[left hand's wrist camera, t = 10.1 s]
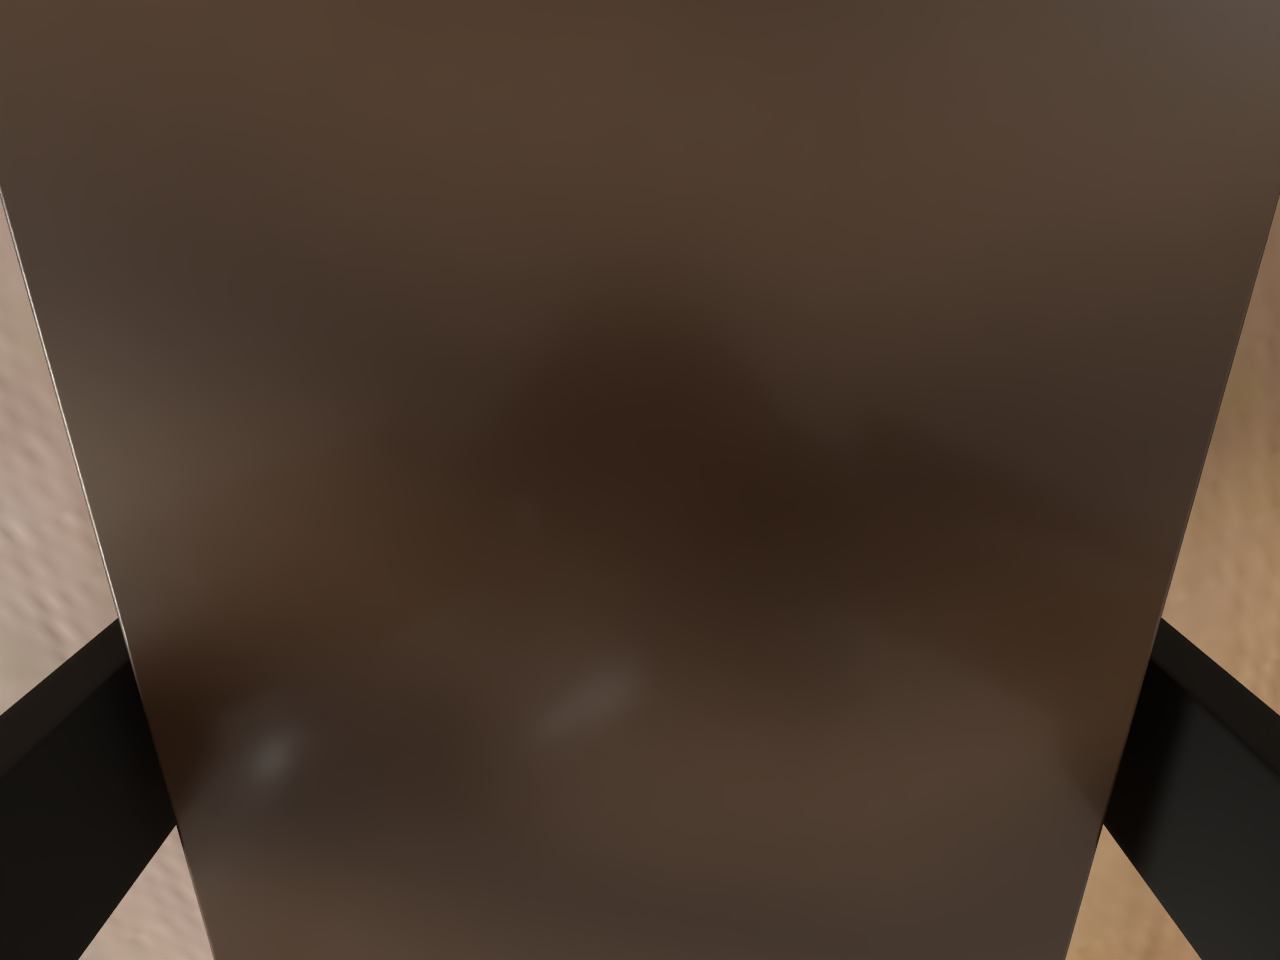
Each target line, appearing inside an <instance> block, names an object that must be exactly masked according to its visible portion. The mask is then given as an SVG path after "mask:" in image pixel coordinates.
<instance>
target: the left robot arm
mask: <svg viewBox="0 0 1280 960" xmlns="http://www.w3.org/2000/svg"><path fill="white" fill-rule="evenodd" d="M1103 824H1104V826H1105V827H1106V828H1107V830H1108V831H1109V832H1110V834H1111V835H1112V837H1113V838H1114V839H1115V841H1116V842H1117V843H1118V845H1119V846H1120V848H1121V849H1122V850H1123V852H1124V853H1125V854H1126V856H1127V857H1128V859H1129V860H1130V861H1131V863H1132V864H1133V866H1134V867H1135V868H1136V870H1137V871H1138V872H1139V874H1140V875H1141V877H1142V878H1143V879H1144V881H1145V882H1146V883H1147V885H1148V886H1149V888H1150V889H1151V890H1152V892H1153V893H1154V895H1155V896H1156V897H1157V899H1158V900H1159V901H1160V903H1161V904H1162V906H1163V907H1164V908H1165V910H1166V911H1167V912H1168V914H1169V915H1170V917H1171V918H1172V919H1173V921H1174V922H1175V923H1176V925H1177V926H1178V928H1179V929H1180V930H1181V932H1182V933H1183V935H1184V936H1185V937H1186V939H1187V940H1188V941H1189V943H1190V944H1191V946H1192V947H1193V948H1194V950H1195V951H1196V952H1197V954H1198V955H1199V957H1200V958H1201V959H1202V960H1280V716H1279V715H1278V714H1277V713H1276V712H1275V711H1273V710H1272V709H1271V708H1270V707H1269V706H1267V705H1266V704H1265V703H1264V702H1263V701H1261V700H1260V699H1259V698H1258V697H1256V696H1255V695H1254V694H1253V693H1252V692H1250V691H1249V690H1248V689H1247V688H1246V687H1244V686H1243V685H1242V684H1241V683H1240V682H1238V681H1237V680H1236V679H1235V678H1234V677H1232V676H1231V675H1230V674H1229V673H1228V672H1226V671H1225V670H1224V669H1223V668H1222V667H1220V666H1219V665H1218V664H1217V663H1216V662H1214V661H1213V660H1212V659H1211V658H1210V657H1208V656H1207V655H1206V654H1205V653H1204V652H1202V651H1201V650H1200V649H1199V648H1197V647H1196V646H1195V645H1194V644H1193V643H1191V642H1190V641H1189V640H1188V639H1187V638H1185V637H1184V636H1183V635H1182V634H1181V633H1179V632H1178V631H1177V630H1176V629H1175V628H1173V627H1172V626H1171V625H1170V624H1169V623H1167V622H1166V621H1165V620H1164V619H1163V618H1161V620H1160V623H1159V627H1158V630H1157V634H1156V637H1155V641H1154V644H1153V648H1152V652H1151V655H1150V659H1149V662H1148V666H1147V669H1146V673H1145V677H1144V680H1143V684H1142V687H1141V691H1140V694H1139V698H1138V702H1137V705H1136V709H1135V712H1134V716H1133V719H1132V723H1131V726H1130V730H1129V734H1128V737H1127V741H1126V744H1125V748H1124V751H1123V755H1122V759H1121V762H1120V766H1119V769H1118V773H1117V776H1116V780H1115V784H1114V787H1113V791H1112V794H1111V798H1110V801H1109V805H1108V808H1107V812H1106V816H1105V819H1104V823H1103ZM175 826H176V822H175V818H174V815H173V811H172V808H171V804H170V801H169V797H168V793H167V790H166V786H165V783H164V779H163V776H162V772H161V768H160V765H159V761H158V758H157V754H156V751H155V747H154V743H153V740H152V736H151V733H150V729H149V726H148V722H147V718H146V715H145V711H144V708H143V704H142V701H141V697H140V693H139V690H138V686H137V683H136V679H135V676H134V672H133V669H132V665H131V661H130V658H129V654H128V651H127V647H126V644H125V640H124V636H123V633H122V629H121V626H120V622H119V619H118V618H117V619H116V620H115V621H114V622H113V623H111V624H110V625H109V626H108V627H107V628H105V629H104V630H103V631H102V632H101V633H99V634H98V635H97V636H96V637H95V638H93V639H92V640H91V641H90V642H89V643H87V644H86V645H85V646H84V647H83V648H81V649H80V650H79V651H78V652H76V653H75V654H74V655H73V656H72V657H70V658H69V659H68V660H67V661H66V662H64V663H63V664H62V665H61V666H60V667H58V668H57V669H56V670H55V671H54V672H52V673H51V674H50V675H49V676H48V677H46V678H45V679H44V680H43V681H42V682H40V683H39V684H38V685H37V686H36V687H34V688H33V689H32V690H31V691H30V692H28V693H27V694H26V695H25V696H23V697H22V698H21V699H20V700H19V701H17V702H16V703H15V704H14V705H13V706H11V707H10V708H9V709H8V710H7V711H5V712H4V713H3V714H2V715H1V716H0V960H78V959H79V958H80V957H81V955H82V954H83V952H84V951H85V950H86V948H87V947H88V946H89V944H90V943H91V941H92V940H93V939H94V937H95V936H96V935H97V933H98V932H99V930H100V929H101V928H102V926H103V925H104V923H105V922H106V921H107V919H108V918H109V917H110V915H111V914H112V912H113V911H114V910H115V908H116V907H117V906H118V904H119V903H120V901H121V900H122V899H123V897H124V896H125V894H126V893H127V892H128V890H129V889H130V888H131V886H132V885H133V883H134V882H135V881H136V879H137V878H138V877H139V875H140V874H141V872H142V871H143V870H144V868H145V867H146V866H147V864H148V863H149V861H150V860H151V859H152V857H153V856H154V854H155V853H156V852H157V850H158V849H159V848H160V846H161V845H162V843H163V842H164V841H165V839H166V838H167V837H168V835H169V834H170V832H171V831H172V830H173V828H174V827H175Z"/></svg>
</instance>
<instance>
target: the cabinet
mask: <svg viewBox="0 0 1280 960" xmlns="http://www.w3.org/2000/svg"><path fill="white" fill-rule="evenodd" d="M1279 195H1280V0H0V198H1V201H2V205H3V208H4V212H5V215H6V219H7V223H8V226H9V230H10V233H11V237H12V240H13V244H14V248H15V251H16V255H17V258H18V262H19V265H20V269H21V273H22V276H23V280H24V283H25V287H26V290H27V294H28V297H29V301H30V305H31V308H32V312H33V315H34V319H35V322H36V326H37V330H38V333H39V337H40V340H41V344H42V347H43V351H44V355H45V358H46V362H47V365H48V369H49V372H50V376H51V380H52V383H53V387H54V390H55V394H56V397H57V401H58V405H59V408H60V412H61V415H62V419H63V422H64V426H65V429H66V433H67V437H68V440H69V444H70V447H71V451H72V454H73V458H74V462H75V465H76V469H77V472H78V476H79V479H80V483H81V487H82V490H83V494H84V497H85V501H86V504H87V508H88V512H89V515H90V519H91V522H92V526H93V529H94V533H95V537H96V540H97V544H98V547H99V551H100V554H101V558H102V561H103V565H104V569H105V572H106V576H107V579H108V583H109V586H110V590H111V594H112V597H113V601H114V604H115V608H116V611H117V615H118V619H119V622H120V626H121V629H122V633H123V636H124V640H125V644H126V647H127V651H128V654H129V658H130V661H131V665H132V669H133V672H134V676H135V679H136V683H137V686H138V690H139V693H140V697H141V701H142V704H143V708H144V711H145V715H146V718H147V722H148V726H149V729H150V733H151V736H152V740H153V743H154V747H155V751H156V754H157V758H158V761H159V765H160V768H161V772H162V776H163V779H164V783H165V786H166V790H167V793H168V797H169V801H170V804H171V808H172V811H173V815H174V818H175V822H176V825H177V829H178V833H179V836H180V840H181V843H182V847H183V850H184V854H185V858H186V861H187V865H188V868H189V872H190V875H191V879H192V883H193V886H194V890H195V893H196V897H197V900H198V904H199V908H200V911H201V915H202V918H203V922H204V925H205V929H206V933H207V936H208V940H209V943H210V947H211V950H212V954H213V957H214V960H1065V958H1066V955H1067V951H1068V948H1069V944H1070V940H1071V937H1072V933H1073V930H1074V926H1075V923H1076V919H1077V915H1078V912H1079V908H1080V905H1081V901H1082V898H1083V894H1084V890H1085V887H1086V883H1087V880H1088V876H1089V873H1090V869H1091V866H1092V862H1093V858H1094V855H1095V851H1096V848H1097V844H1098V841H1099V837H1100V833H1101V830H1102V826H1103V823H1104V819H1105V816H1106V812H1107V808H1108V805H1109V801H1110V798H1111V794H1112V791H1113V787H1114V784H1115V780H1116V776H1117V773H1118V769H1119V766H1120V762H1121V759H1122V755H1123V751H1124V748H1125V744H1126V741H1127V737H1128V734H1129V730H1130V726H1131V723H1132V719H1133V716H1134V712H1135V709H1136V705H1137V702H1138V698H1139V694H1140V691H1141V687H1142V684H1143V680H1144V677H1145V673H1146V669H1147V666H1148V662H1149V659H1150V655H1151V652H1152V648H1153V644H1154V641H1155V637H1156V634H1157V630H1158V627H1159V623H1160V620H1161V616H1162V612H1163V609H1164V605H1165V602H1166V598H1167V595H1168V591H1169V587H1170V584H1171V580H1172V577H1173V573H1174V570H1175V566H1176V562H1177V559H1178V555H1179V552H1180V548H1181V545H1182V541H1183V538H1184V534H1185V530H1186V527H1187V523H1188V520H1189V516H1190V513H1191V509H1192V505H1193V502H1194V498H1195V495H1196V491H1197V488H1198V484H1199V480H1200V477H1201V473H1202V470H1203V466H1204V463H1205V459H1206V456H1207V452H1208V448H1209V445H1210V441H1211V438H1212V434H1213V431H1214V427H1215V423H1216V420H1217V416H1218V413H1219V409H1220V406H1221V402H1222V398H1223V395H1224V391H1225V388H1226V384H1227V381H1228V377H1229V374H1230V370H1231V366H1232V363H1233V359H1234V356H1235V352H1236V349H1237V345H1238V341H1239V338H1240V334H1241V331H1242V327H1243V324H1244V320H1245V316H1246V313H1247V309H1248V306H1249V302H1250V299H1251V295H1252V291H1253V288H1254V284H1255V281H1256V277H1257V274H1258V270H1259V267H1260V263H1261V259H1262V256H1263V252H1264V249H1265V245H1266V242H1267V238H1268V234H1269V231H1270V227H1271V224H1272V220H1273V217H1274V213H1275V209H1276V206H1277V202H1278V199H1279Z"/></svg>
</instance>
